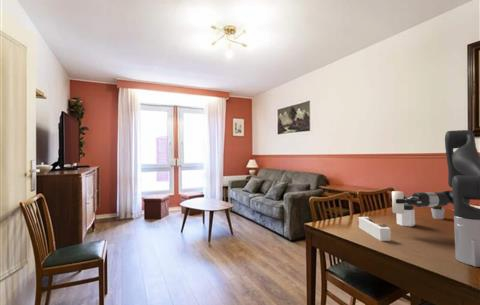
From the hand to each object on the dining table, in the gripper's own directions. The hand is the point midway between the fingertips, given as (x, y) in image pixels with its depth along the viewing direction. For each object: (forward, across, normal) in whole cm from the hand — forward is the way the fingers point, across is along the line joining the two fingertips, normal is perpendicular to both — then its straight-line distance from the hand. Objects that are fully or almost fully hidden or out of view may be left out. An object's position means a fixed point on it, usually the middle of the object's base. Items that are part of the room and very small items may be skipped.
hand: (392, 200), depth 128 cm
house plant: (-47, -28, +18) cm, 57 cm away
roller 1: (+2, -27, +16) cm, 31 cm away
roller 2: (+2, -11, +18) cm, 21 cm away
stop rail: (+10, -1, +18) cm, 20 cm away
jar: (-17, -16, +18) cm, 29 cm away
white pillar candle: (-3, 0, +6) cm, 7 cm away
